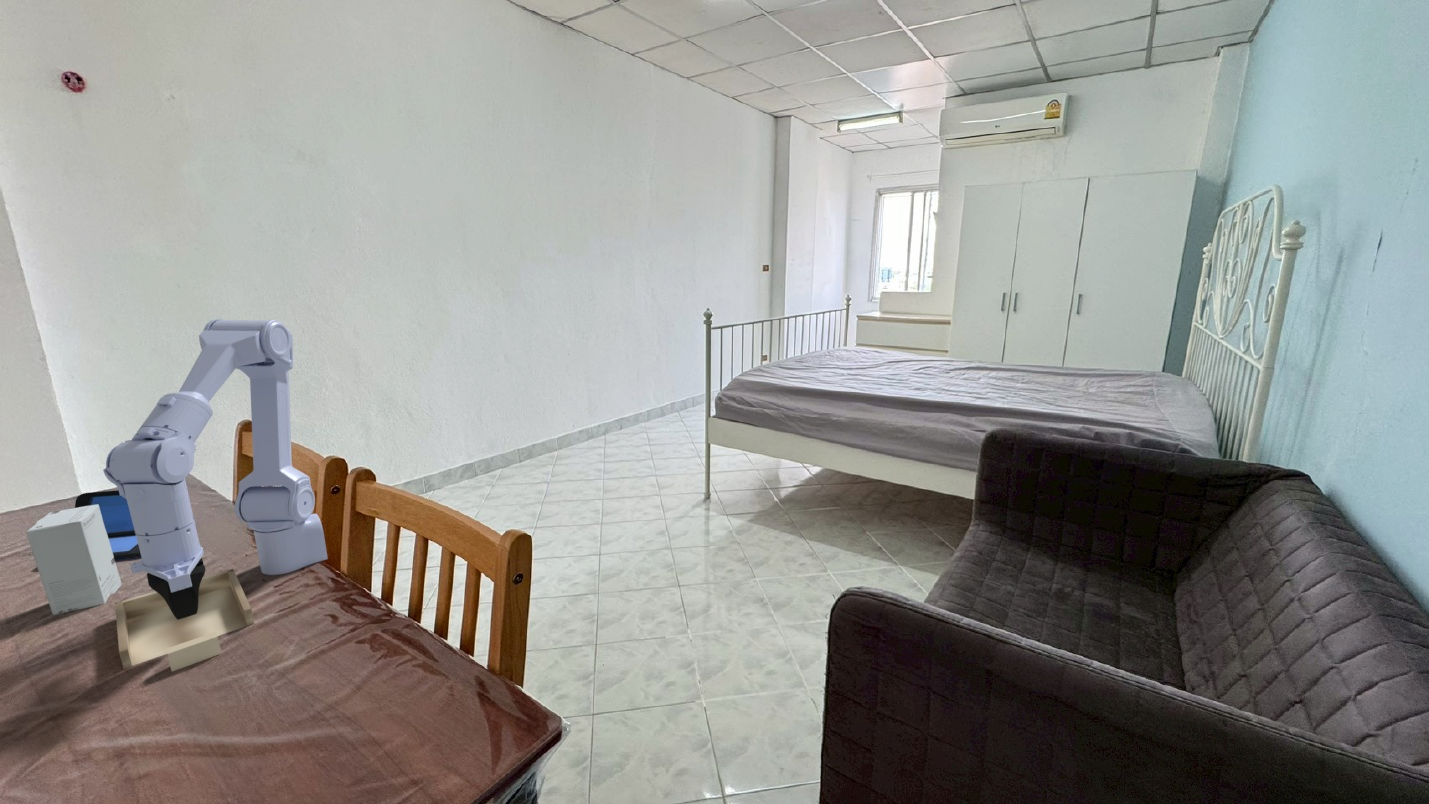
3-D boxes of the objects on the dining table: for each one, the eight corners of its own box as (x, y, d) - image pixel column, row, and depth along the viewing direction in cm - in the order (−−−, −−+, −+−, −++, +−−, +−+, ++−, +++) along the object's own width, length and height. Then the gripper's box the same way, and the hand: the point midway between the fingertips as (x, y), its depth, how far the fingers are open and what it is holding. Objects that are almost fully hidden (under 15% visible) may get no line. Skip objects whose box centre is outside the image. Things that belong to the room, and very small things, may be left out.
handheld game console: (37, 572, 98) (22, 523, 96) (88, 537, 110) (76, 493, 108) (151, 558, 103) (140, 511, 101) (188, 526, 115) (179, 484, 113)
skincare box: (107, 609, 88) (83, 521, 84) (50, 621, 85) (23, 531, 81) (122, 583, 95) (101, 501, 91) (70, 594, 91) (46, 509, 88)
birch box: (236, 587, 94) (233, 568, 93) (255, 628, 84) (251, 608, 83) (120, 623, 85) (114, 602, 84) (125, 675, 74) (119, 652, 73)
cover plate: (244, 648, 81) (239, 622, 80) (255, 676, 75) (249, 649, 74) (146, 684, 74) (139, 656, 73) (151, 718, 68) (143, 688, 67)
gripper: (120, 517, 77) (142, 604, 80) (125, 556, 68) (150, 653, 71) (189, 502, 82) (208, 585, 85) (203, 536, 73) (223, 628, 76)
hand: (186, 614), depth 79 cm, fingers closed
